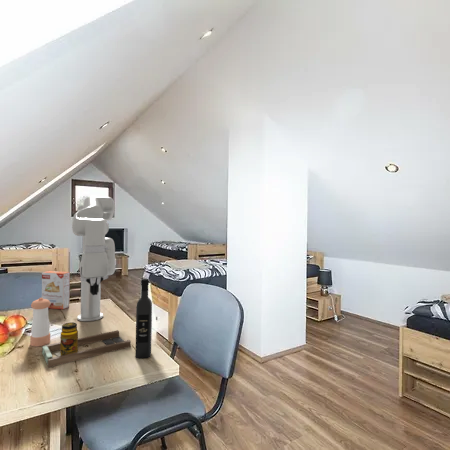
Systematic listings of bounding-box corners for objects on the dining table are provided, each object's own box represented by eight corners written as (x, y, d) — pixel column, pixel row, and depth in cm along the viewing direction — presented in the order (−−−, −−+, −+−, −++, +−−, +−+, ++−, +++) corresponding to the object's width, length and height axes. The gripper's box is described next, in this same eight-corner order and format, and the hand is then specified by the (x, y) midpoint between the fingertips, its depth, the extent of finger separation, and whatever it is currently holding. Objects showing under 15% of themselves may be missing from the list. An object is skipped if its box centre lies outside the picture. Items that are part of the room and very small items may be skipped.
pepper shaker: (38, 347, 126) (39, 300, 125) (26, 344, 128) (26, 298, 128) (54, 341, 133) (54, 296, 132) (41, 338, 135) (42, 294, 135)
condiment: (63, 360, 115) (64, 328, 115) (54, 353, 121) (54, 323, 120) (83, 354, 121) (83, 323, 121) (73, 348, 126) (73, 318, 126)
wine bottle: (150, 358, 119) (151, 280, 118) (135, 359, 118) (136, 280, 117) (151, 352, 124) (152, 277, 124) (136, 352, 123) (138, 277, 123)
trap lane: (41, 352, 122) (41, 344, 121) (117, 335, 140) (117, 329, 140) (48, 367, 110) (48, 359, 110) (130, 347, 129) (130, 339, 128)
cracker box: (40, 308, 178) (41, 272, 178) (48, 305, 184) (48, 270, 184) (62, 310, 176) (63, 273, 175) (69, 307, 182) (70, 271, 181)
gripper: (110, 247, 134) (109, 290, 134) (72, 249, 124) (72, 294, 125) (116, 249, 128) (115, 293, 128) (77, 251, 119) (76, 299, 119)
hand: (94, 294), depth 127 cm, fingers closed
